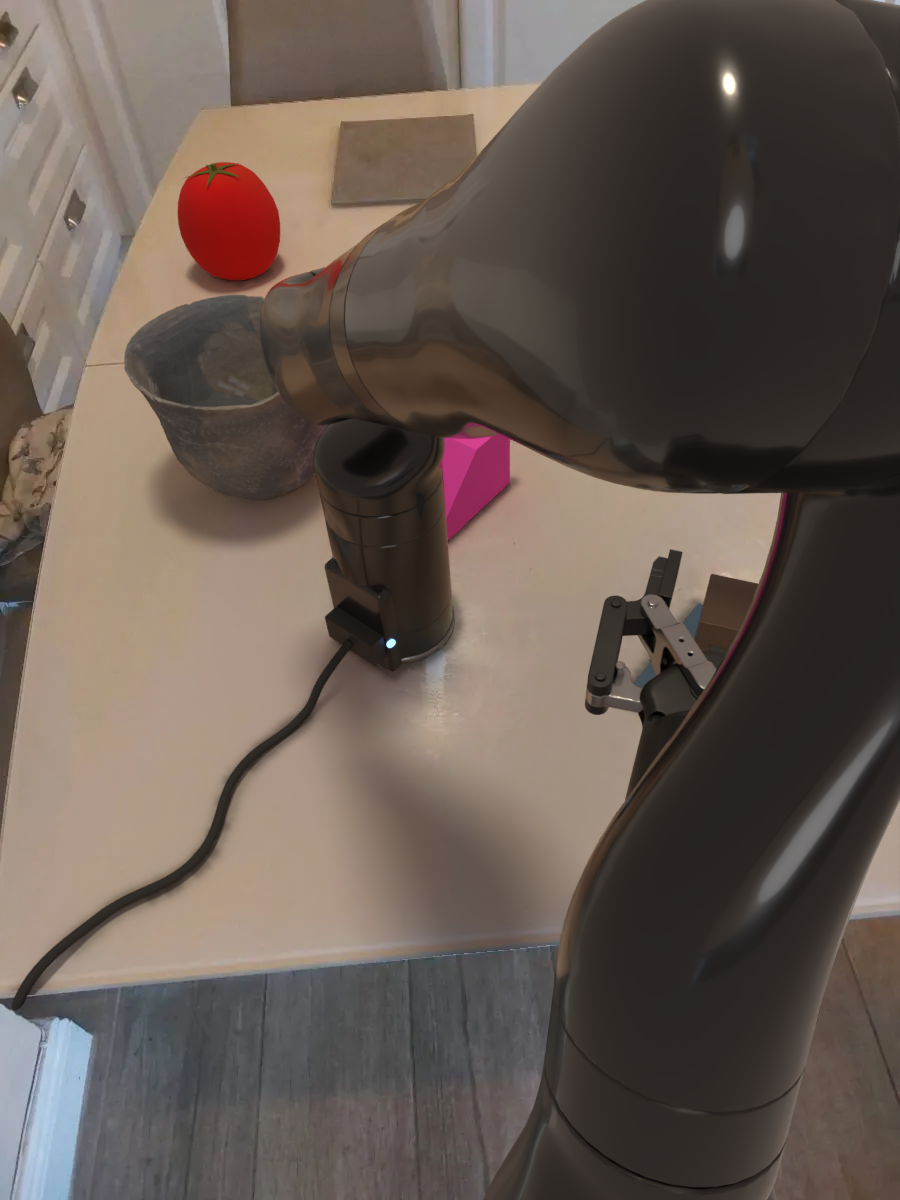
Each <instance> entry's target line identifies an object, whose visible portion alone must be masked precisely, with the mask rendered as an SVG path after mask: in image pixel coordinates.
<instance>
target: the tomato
mask: <svg viewBox="0 0 900 1200" xmlns="http://www.w3.org/2000/svg"><path fill="white" fill-rule="evenodd" d="M184 179H185V180H184V183H183V184H182V187H181V188H180V190H179V191H180V192H179V196H178V200H177V213H176V214H177V223H178V228H179V233H180V237H181V239H182V241H183V243H184V246H185V248H186V249H187V252H188V253H189V255H190V256H191V258H192V259H193V260H194V261H195V262H196V264H197V265H198V266H199V267H200V268H201V269H202V270H203V271H205V272H206V273H207V274H209V275H211V276H212V277H215V278H217V279H220V280H227V281H229V280H230V281H246V280H250V279H254V278H256V277H258V276H260V275H262V274H264V273H266V271H267V270H268V269H269V268H270V267H271V266H272V265H273V263H274V261H275V260H276V258H277V255H278V252H279V248H280V242H281V219H280V213H279V208H278V206H277V204H276V201H275V198H274V197H273V195H272V194H271V192H270V190H269V189H268V187H267V186H266V184H265V183H264V182H263V180H262V179H261V177H259V176H258V175H257V174H256V173H255V172H254V171H253V170H252V169H249V168H248V167H246V165H245V166H244V165H243V164H241V163H238V162H230V161H228V162H227V161H219V162H212V163H210V164H205V166H203V167H201V168H199V169H197V170H196V171H194V172H193V173H191V174H190V175H189V176H185V177H184Z"/></svg>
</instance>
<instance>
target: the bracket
mask: <svg viewBox="0 0 900 1200" xmlns="http://www.w3.org/2000/svg"><path fill="white" fill-rule="evenodd" d="M442 465H443V482H444V496H445V511H446V524H447V538H448V541H450V540H451V539H452V538H453V537H454V535H456V534H457V533H458V532H459V531H460V530H461V529H462V528H463V527H464V526H465V525H466V524H468V522H470V521H471V520H472V519H473V518H474V517H475V516H476V515H477V514H478V513H479V512H480V511H481V510H483V508H485V506H487V505H488V504H489V503H490V502H491V501H492V500H493V499H494V498H495V497H496V496H497V495H498V494H500V492H502V491H503V490H504V489H505V488H506V487H507V486H508V485H509V484H510V483H511V440H510V439H508V438H506V437H504V436H502V435H496V436H491V437H484V438H476V439H453V438H445V451H444V456H443V460H442Z"/></svg>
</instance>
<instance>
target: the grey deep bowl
mask: <svg viewBox="0 0 900 1200" xmlns="http://www.w3.org/2000/svg"><path fill="white" fill-rule="evenodd" d="M264 300H265V297H263V296H252V295H251V296H250V295H245V294H224V295H219V296H214V297H208V298H204V299H200V300H196V301H192V302H191V303H189V304H188V303H184V304H181V305H179V306H176V307H174V308H172V309H169V310H167V311H165V312H163V313H161V314H159V315H158V316H155V318H153V319H151V320H149V321H148V322H147V323H145V324H144V325H142V326H141V327H140V328H139V329H138V330H137V331H136V332H135V333H134V334H133V335H132V336H131V337H130V339H129V341H128V343H127V344H126V347H125V351H124V358H123V359H124V360H123V362H124V363H123V364H124V371H125V373H126V376H127V377H128V379H129V381H130V383H132V385H133V386H134V387H135V388H136V389H137V390H138V391H139V392H140V393H141V395H142V396H143V397H144V399H145V400H146V402H147V403H148V404H149V406H150V408H151V409H152V411H153V413H154V414H155V415H156V417H157V418H158V420H159V423H160V426H161V427H162V429H163V432H164V435H165V437H166V440H167V442H168V443H169V445H170V448H171V450H172V452H173V455H174V456H175V458H176V459H177V461H178V462H179V463H180V465H182V466H183V467H184V469H185V470H186V471H187V472H188V473H189V474H190V475H191V476H192V477H193V478H194V479H195V480H197V481H198V482H200V483H201V484H202V485H204V486H205V487H207V488H208V489H211V490H212V491H214V492H216V493H218V494H221V495H224V496H226V497H230V498H233V499H239V500H243V501H244V500H245V501H264V500H270V499H275V498H276V497H281V496H283V495H286V494H289V493H291V492H293V491H295V490H297V489H298V488H300V487H301V486H302V485H304V484H305V483H306V482H308V480H309V479H311V477H312V476H313V475H315V472H314V465H313V453H314V448H315V445H316V442H317V440H318V438H319V436H320V435H321V433H322V432H323V431H324V429H325V428H326V427H327V426H328V425H314V424H311V423H309V422H307V421H305V420H304V419H302V418H301V417H299V416H298V415H297V414H296V413H295V412H294V411H293V410H292V409H291V408H290V407H289V406H288V405H287V404H286V402H285V401H284V400H283V398H282V397H281V395H280V394H279V392H278V390H277V389H276V387H275V385H274V383H273V381H272V379H271V377H270V375H269V372H268V369H267V367H266V364H265V360H264V357H263V352H262V346H261V340H260V316H261V311H262V305H263V302H264Z"/></svg>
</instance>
